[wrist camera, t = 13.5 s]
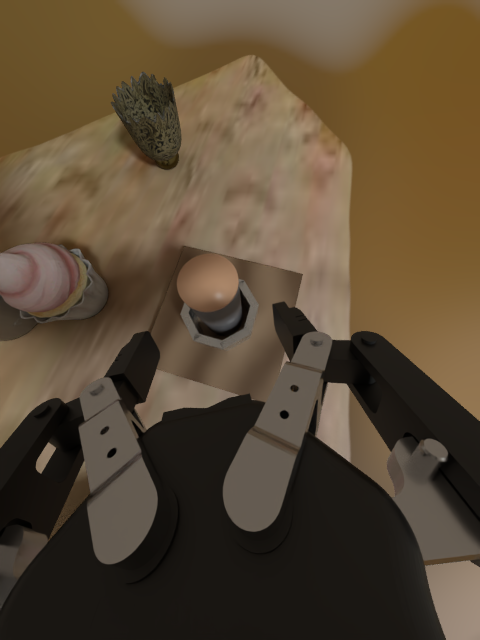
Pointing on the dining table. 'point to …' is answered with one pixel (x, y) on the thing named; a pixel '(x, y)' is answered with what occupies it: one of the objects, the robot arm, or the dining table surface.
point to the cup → (151, 118)
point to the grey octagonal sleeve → (232, 340)
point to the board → (244, 359)
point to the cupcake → (50, 283)
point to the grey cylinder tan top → (212, 292)
